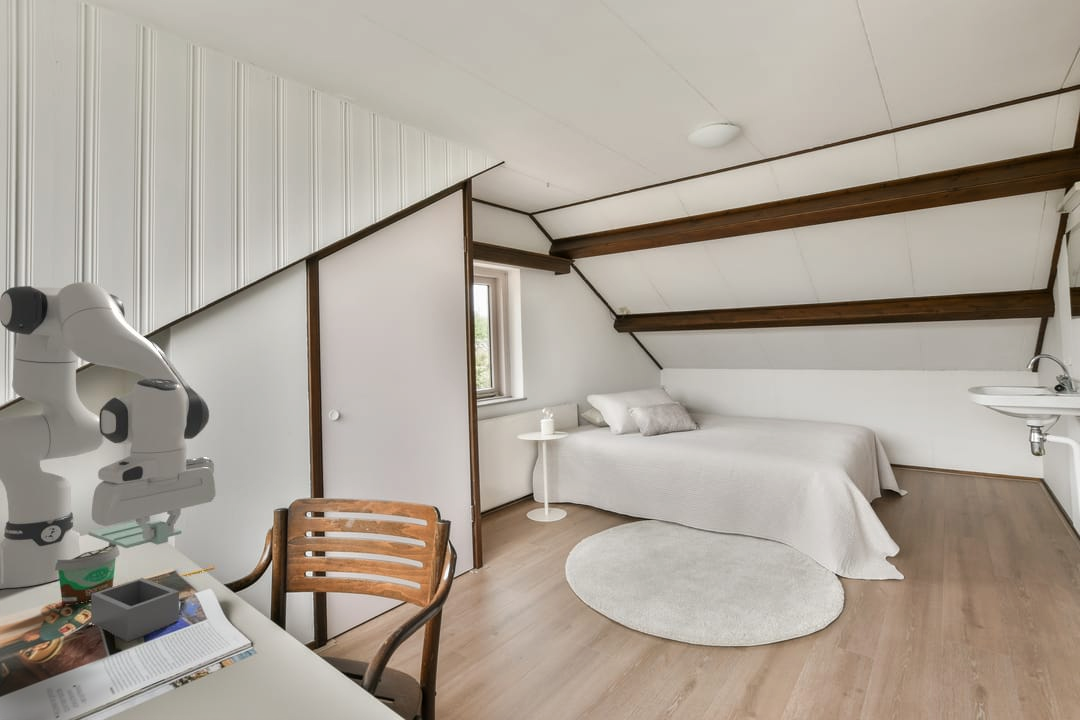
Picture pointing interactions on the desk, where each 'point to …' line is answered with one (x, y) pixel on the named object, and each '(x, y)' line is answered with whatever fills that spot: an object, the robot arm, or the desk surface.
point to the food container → (87, 574)
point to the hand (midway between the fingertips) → (158, 536)
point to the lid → (133, 534)
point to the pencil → (199, 571)
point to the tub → (134, 608)
